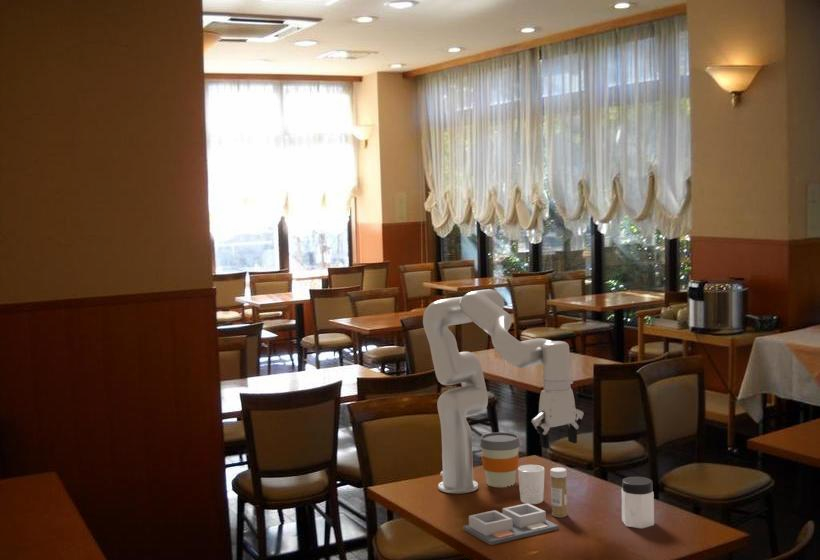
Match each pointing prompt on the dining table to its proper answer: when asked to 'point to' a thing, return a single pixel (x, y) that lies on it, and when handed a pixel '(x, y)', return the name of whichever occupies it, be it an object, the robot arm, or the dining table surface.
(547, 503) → the dining table surface
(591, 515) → the dining table surface
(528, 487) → the white cup
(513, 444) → the reusable coffee cup
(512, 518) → the socket board
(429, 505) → the dining table surface
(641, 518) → the jar
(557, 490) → the sprinkles bottle
